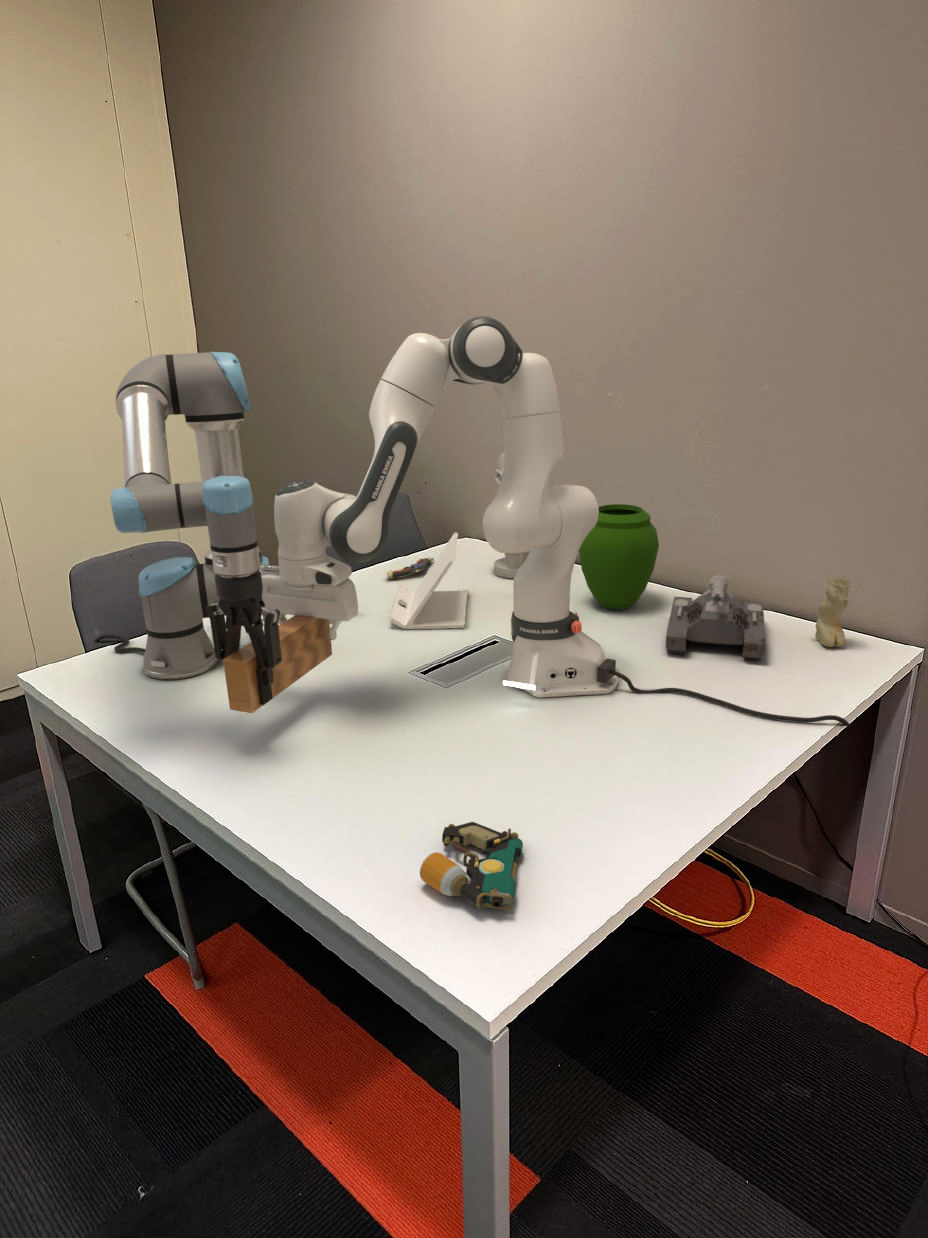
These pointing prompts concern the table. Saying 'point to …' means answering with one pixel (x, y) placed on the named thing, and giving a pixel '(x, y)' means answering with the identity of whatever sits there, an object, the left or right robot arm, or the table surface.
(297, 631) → the bar
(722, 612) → the toy
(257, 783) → the table surface
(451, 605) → the tablet stand
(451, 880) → the spray gun
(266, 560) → the left robot arm
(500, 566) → the bust sculpture
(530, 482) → the right robot arm
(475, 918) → the table surface
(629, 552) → the vase
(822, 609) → the sculpture
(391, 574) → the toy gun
